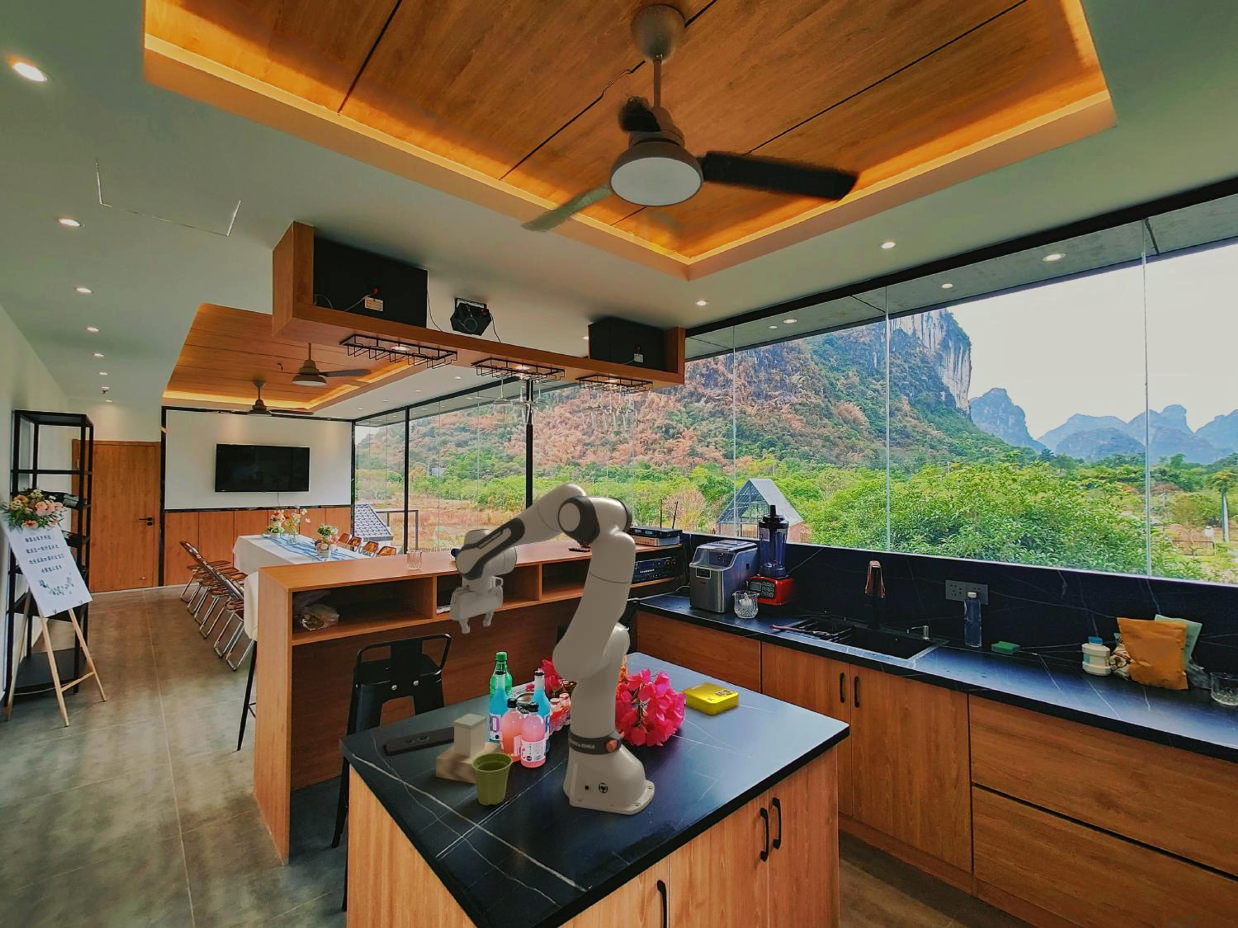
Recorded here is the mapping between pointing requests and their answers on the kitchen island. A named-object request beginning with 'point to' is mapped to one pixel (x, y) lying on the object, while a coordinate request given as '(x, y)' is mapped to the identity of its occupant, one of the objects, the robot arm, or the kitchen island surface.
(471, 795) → the kitchen island surface
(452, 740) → the smart home device
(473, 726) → the cream tea tin
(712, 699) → the element tile
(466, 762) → the oak block
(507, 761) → the plant pot
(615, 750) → the robot arm
